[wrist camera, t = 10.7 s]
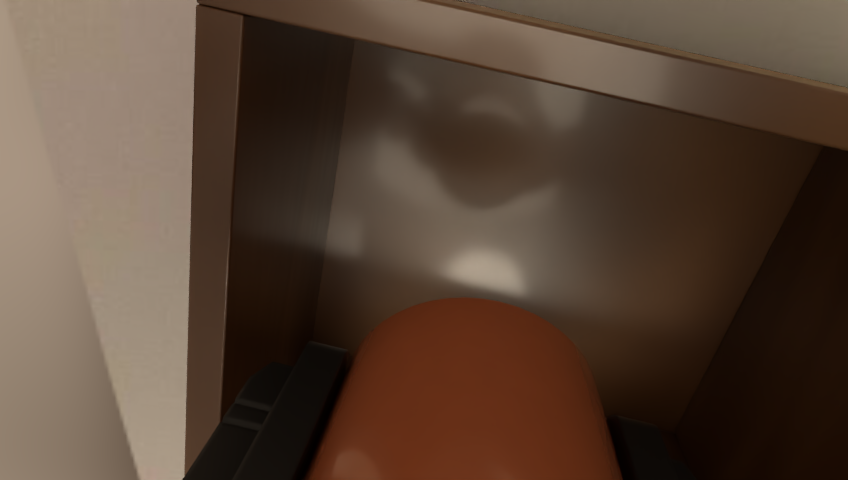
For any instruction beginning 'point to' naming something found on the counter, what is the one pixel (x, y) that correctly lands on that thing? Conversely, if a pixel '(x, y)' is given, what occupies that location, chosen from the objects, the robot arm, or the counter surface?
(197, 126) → the brown wooden box
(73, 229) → the counter surface
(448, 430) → the orange cylinder
